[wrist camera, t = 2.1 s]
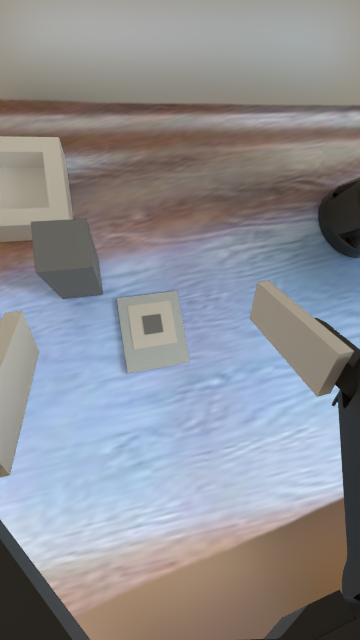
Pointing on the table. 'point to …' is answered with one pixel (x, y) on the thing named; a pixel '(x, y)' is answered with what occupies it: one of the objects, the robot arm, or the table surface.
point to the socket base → (31, 185)
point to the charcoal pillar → (66, 257)
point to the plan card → (152, 331)
